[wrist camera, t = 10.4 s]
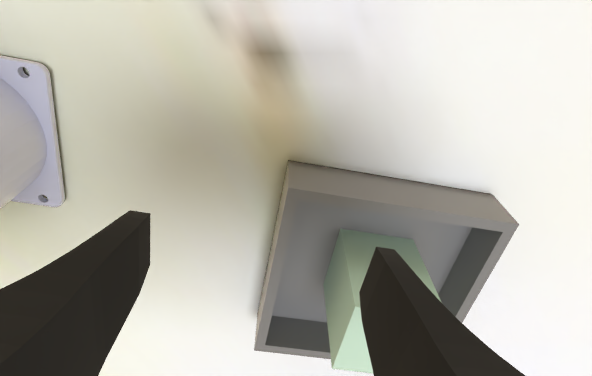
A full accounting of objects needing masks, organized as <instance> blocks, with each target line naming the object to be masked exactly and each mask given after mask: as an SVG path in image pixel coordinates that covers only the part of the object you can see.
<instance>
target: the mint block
mask: <svg viewBox="0 0 592 376" xmlns="http://www.w3.org/2000/svg"><path fill="white" fill-rule="evenodd" d="M376 247H382V248H389V249H394V250H395V251H396V252H397V253H398V254H399V255H400V256H401V257H402V258H403V260H404V261H405V262H406V263H407V264H408V265H409V267H410V268H411V269H412V270H413V271H414V272H415V274H416V275H417V276H418V277H419V278H420V279H421V280H422V282H423V283H424V284H425V285H426V286H427V287H428V288H429V290H430V291H431V292H432V293H433V294H434V295H435V296H436V297H437V298H438V299H439V300H440V298H439V296H438V293H437V291H436V289H435V287H434V284H433V282H432V280H431V278H430V276H429V273H428V271H427V269H426V267H425V264H424V262H423V260H422V258H421V256H420V253H419V251H418V249H417V247H416V245H415V242H414V240H413V239H407V238H400V237H393V236H387V235H380V234H373V233H367V232H360V231H354V230H347V229H340V232H339V235H338V238H337V241H336V245H335V248H334V251H333V255H332V258H331V261H330V264H329V268H328V271H327V274H326V277H325V281H324V284H323V286H324V296H325V306H326V315H327V325H328V334H329V344H330V354H331V363H332V369H339V370H348V371H357V372H366V373H373V369H372V365H371V360H370V356H369V351H368V347H367V343H366V338H365V334H364V329H363V324H362V318H361V308H360V295H359V292H360V289H361V286H362V284H363V281H364V278H365V275H366V273H367V270H368V267H369V265H370V262H371V259H372V257H373V254H374V251H375V248H376ZM440 302H441V300H440ZM441 303H442V302H441Z"/></svg>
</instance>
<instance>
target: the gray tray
mask: <svg viewBox="0 0 592 376" xmlns="http://www.w3.org/2000/svg"><path fill="white" fill-rule="evenodd" d="M518 225H519V224H518V223H517V222H516V220H515V219H514V218H513V217H512V216H511V215H510V214H509V213H508V211H507V210H506V209H505V208H504V207H503V206H502V205H501V204H500V202H499V201H498V200H497V199H496V198H495V197H494V196H493V195H492V194H487V193H481V192H475V191H469V190H463V189H457V188H451V187H445V186H439V185H433V184H427V183H421V182H415V181H409V180H403V179H397V178H391V177H385V176H379V175H373V174H367V173H361V172H355V171H349V170H343V169H337V168H331V167H325V166H319V165H313V164H307V163H301V162H295V161H289V160H288V165H287V170H286V175H285V180H284V185H283V190H282V195H281V200H280V205H279V210H278V215H277V220H276V225H275V230H274V235H273V240H272V244H271V249H270V254H269V259H268V264H267V269H266V274H265V279H264V284H263V289H262V294H261V299H260V304H259V309H258V315H257V326H256V336H255V347H254V350H255V351H264V352H273V353H282V354H291V355H299V356H308V357H317V358H326V359H331V354H330V344H329V334H328V325H327V315H326V306H325V296H324V286H323V284H324V281H325V277H326V274H327V271H328V268H329V264H330V261H331V258H332V255H333V251H334V248H335V245H336V241H337V238H338V235H339V232H340V229H347V230H354V231H360V232H367V233H373V234H380V235H387V236H393V237H400V238H407V239H413V240H414V242H415V245H416V247H417V249H418V251H419V253H420V256H421V258H422V260H423V262H424V264H425V267H426V269H427V271H428V273H429V276H430V278H431V280H432V282H433V284H434V287H435V289H436V291H437V293H438V296H439V298H440V300H441V302H442V304H443V305H444V306H445V307H446V308H447V309H448V310H449V311H450V312H451V313H452V314H453V315H454V316H455V317H456V318H457V319H458V320H459V321H460V322H461V323H462V322H463V320H464V319H465V317H466V315H467V313H468V312H469V310H470V308H471V307H472V305H473V303H474V301H475V300H476V298H477V296H478V294H479V293H480V291H481V289H482V288H483V286H484V284H485V282H486V281H487V279H488V277H489V275H490V274H491V272H492V270H493V269H494V267H495V265H496V263H497V262H498V260H499V258H500V257H501V255H502V253H503V251H504V250H505V248H506V246H507V244H508V243H509V241H510V239H511V238H512V236H513V234H514V232H515V231H516V229H517V227H518Z"/></svg>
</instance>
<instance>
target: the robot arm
mask: <svg viewBox="0 0 592 376" xmlns="http://www.w3.org/2000/svg"><path fill="white" fill-rule="evenodd" d="M23 67H24V68H26V69H27V70H28V71H29V73H30V75H29V76H28V75H26V74H25V73H24V72H23ZM43 195H45V196H46V197H47V198H48V199H46V198H44V197H43ZM9 201H16V202H23V203H30V204H36V205H43V206H50V207H59V206H61V205H62V204H63V202H64V201H65V193H64V185H63V177H62V169H61V160H60V152H59V144H58V136H57V128H56V119H55V111H54V103H53V95H52V86H51V78H50V73H49V70H48V69H47V68H46V66H44V65H43V64H41V63H39V62H34V61H28V60H23V59H17V58H12V57H6V56H1V55H0V209H1V208H2V207H3V206H5V205H6V204H7V203H8V202H9ZM149 266H150V213H143V212H137V211H128V212H127V213H126V214H124V215H123V216H121V217H120V218H118V219H117V220H115V221H114V222H112V223H111V224H110V225H108V226H107V227H105V228H104V229H103V230H101V231H100V232H98V233H97V234H95V235H94V236H92V237H91V238H89V239H88V240H87V241H85V242H84V243H82V244H81V245H79V246H78V247H76V248H75V249H73V250H71V251H70V252H68V253H66V254H65V255H63V256H61V257H60V258H58V259H57V260H55V261H53V262H52V263H50V264H48V265H47V266H45V267H43V268H41V269H39V270H38V271H36V272H34V273H32V274H30V275H28V276H26V277H24V278H22V279H20V280H18V281H16V282H14V283H12V284H10V285H8V286H6V287H4V288H2V289H0V376H98V375H99V372H100V370H101V368H102V366H103V364H104V362H105V359H106V357H107V355H108V354H109V352H110V350H111V348H112V346H113V344H114V342H115V340H116V338H117V336H118V334H119V332H120V330H121V328H122V327H123V325H124V323H125V321H126V319H127V317H128V315H129V313H130V311H131V309H132V307H133V305H134V303H135V301H136V299H137V297H138V295H139V293H140V291H141V288H142V285H143V283H144V280H145V277H146V274H147V271H148V268H149ZM359 295H360V308H361V318H362V324H363V329H364V334H365V338H366V343H367V347H368V351H369V356H370V360H371V365H372V369H373V373H374V376H525V375H524V374H522V373H521V372H519V371H518V370H517V369H516V368H514V367H513V366H512V365H510V364H509V363H508V362H507V361H505V360H504V359H503V358H501V357H500V356H499V355H498V354H496V353H495V352H494V351H493V350H491V349H490V348H489V347H488V346H487V345H486V344H484V343H483V342H482V341H481V340H480V339H479V338H478V337H476V336H475V335H474V334H473V333H472V332H471V331H470V330H469V329H467V328H466V327H465V326H464V325H463V324H462V323H461V322H460V321H459V320H458V319H457V318H456V317H455V316H454V315H453V314H452V313H451V312H450V311H449V310H448V309H447V308H446V307H445V306H444V305H443V304H442V303H441V302H440V300H439V299H438V298H437V297H436V296H435V295H434V294H433V293H432V292H431V291H430V290H429V288H428V287H427V286H426V285H425V284H424V283H423V282H422V280H421V279H420V278H419V277H418V276H417V275H416V274H415V272H414V271H413V270H412V269H411V268H410V267H409V265H408V264H407V263H406V262H405V261H404V260H403V258H402V257H401V256H400V255H399V254H398V253H397V252H396V251H395V250H394V249H389V248H382V247H376V248H375V251H374V254H373V257H372V259H371V262H370V265H369V267H368V270H367V273H366V275H365V278H364V281H363V284H362V286H361V289H360V292H359Z"/></svg>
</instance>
